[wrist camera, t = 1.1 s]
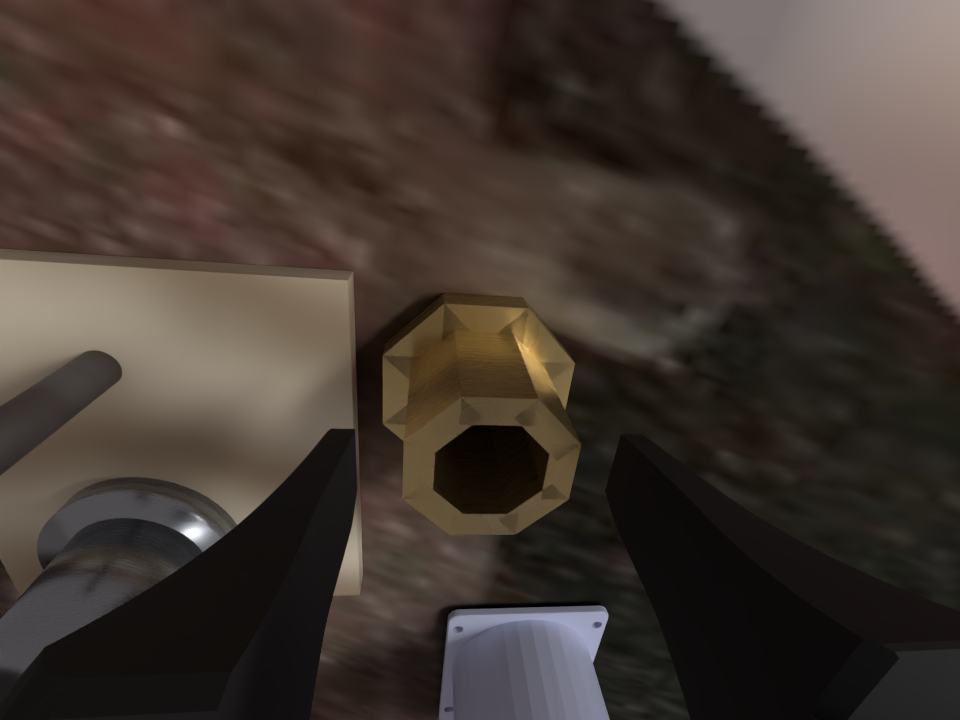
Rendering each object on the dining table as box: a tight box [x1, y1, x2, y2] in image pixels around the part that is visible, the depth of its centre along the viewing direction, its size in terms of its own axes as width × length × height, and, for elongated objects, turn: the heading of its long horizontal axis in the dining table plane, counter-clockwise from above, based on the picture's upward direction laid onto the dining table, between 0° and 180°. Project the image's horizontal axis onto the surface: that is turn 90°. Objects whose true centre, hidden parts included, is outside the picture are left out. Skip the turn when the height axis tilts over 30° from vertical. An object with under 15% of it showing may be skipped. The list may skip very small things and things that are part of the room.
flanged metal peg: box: [0, 477, 237, 703], centre depth 15 cm, size 6×6×5 cm
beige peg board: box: [0, 249, 363, 596], centre depth 14 cm, size 14×13×6 cm
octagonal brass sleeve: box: [383, 293, 581, 535], centre depth 14 cm, size 6×6×5 cm
